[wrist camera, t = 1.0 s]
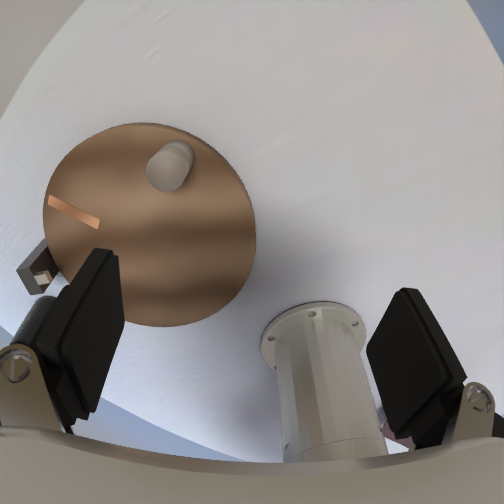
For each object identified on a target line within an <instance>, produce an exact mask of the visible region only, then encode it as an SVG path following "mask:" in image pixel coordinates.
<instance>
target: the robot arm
mask: <svg viewBox="0 0 504 504" xmlns="http://www.w3.org/2000/svg"><path fill="white" fill-rule="evenodd" d="M124 323H125V318H124V310H123V301H122V291H121V280H120V268H119V258H118V256H117V255H114V253H113V251H112V250H110V249H103V248H94V249H93V250H92V252H91V253H90V254H89V256H88V257H87V259H86V260H85V262H84V263H83V265H82V266H81V268H80V269H79V271H78V272H77V274H76V275H75V277H74V278H73V280H72V281H71V283H70V285H66V286H65V287H64V288H63V289H62V290H61V292H60V293H59V295H58V297H57V298H56V300H55V301H54V303H53V305H52V306H51V308H50V309H49V311H48V313H47V314H46V316H45V318H44V319H43V321H42V323H41V325H40V326H39V328H38V330H37V331H36V333H35V335H34V337H33V338H32V340H31V342H30V344H29V346H28V347H27V346H25V345H21V344H14V345H9V346H7V347H4V348H3V349H1V350H0V504H504V418H503V417H501V416H500V415H498V414H497V413H495V401H494V398H493V396H492V394H491V392H490V391H489V390H488V389H487V388H486V387H485V386H483V385H482V384H480V383H477V382H470V383H468V384H467V385H466V386H465V387H464V385H463V382H464V381H465V379H466V378H467V376H466V374H465V372H464V370H463V368H462V366H461V364H460V362H459V360H458V358H457V356H456V354H455V352H454V350H453V349H452V347H451V345H450V343H449V341H448V339H447V338H446V336H445V334H444V332H443V330H442V329H441V327H440V325H439V323H438V322H437V320H436V318H435V316H434V315H433V313H432V311H431V310H430V308H429V306H428V305H427V303H426V301H425V300H424V298H423V296H422V295H421V293H420V292H419V290H418V289H413V288H401V289H400V290H399V291H397V292H396V293H395V294H394V296H393V298H392V300H391V302H390V304H389V306H388V308H387V310H386V312H385V314H384V316H383V317H382V319H381V321H380V323H379V325H378V327H377V328H376V330H375V332H374V334H373V336H372V337H371V339H370V341H369V343H368V345H367V348H366V354H367V357H368V360H369V363H370V366H371V369H372V372H373V375H374V379H375V382H376V385H377V388H378V391H379V395H380V398H381V401H382V404H383V408H384V411H385V414H386V418H387V421H388V425H389V428H390V430H391V431H392V432H394V435H395V439H396V440H398V439H405V438H409V437H410V436H411V437H412V443H411V445H410V448H409V450H408V452H402V453H396V454H390V455H389V453H388V450H387V446H386V442H385V438H384V434H383V430H382V427H381V423H380V420H379V416H378V412H377V409H376V405H375V402H374V398H373V395H372V392H371V388H370V385H369V382H368V378H367V375H366V372H365V369H364V365H363V362H362V359H361V356H360V352H361V350H362V348H363V346H364V344H365V341H366V329H365V326H364V323H363V321H362V319H361V317H360V316H359V315H358V314H357V313H356V312H355V311H354V310H352V309H351V308H349V307H347V306H344V305H341V304H338V303H332V302H316V303H309V304H305V305H301V306H297V307H295V308H293V309H290V310H288V311H286V312H284V313H283V314H281V315H280V316H278V317H277V318H276V319H275V320H273V321H272V322H271V323H270V324H269V326H268V327H267V328H266V329H265V332H264V334H263V336H262V340H261V353H262V357H263V359H264V361H265V362H266V364H267V365H268V366H269V367H270V368H271V369H273V370H274V371H276V372H277V384H278V396H279V409H280V421H281V434H282V447H283V461H284V463H258V462H236V461H221V460H210V459H200V458H191V457H182V456H176V455H169V454H162V453H156V452H151V451H145V450H139V449H134V448H129V447H124V446H119V445H115V444H110V443H105V442H102V441H97V440H94V439H89V438H85V437H81V436H77V435H76V434H75V432H74V430H73V427H72V425H74V424H75V422H76V419H77V418H80V419H83V420H88V417H89V414H90V412H92V413H94V412H95V411H96V408H97V405H98V402H99V399H100V396H101V392H102V389H103V386H104V383H105V380H106V377H107V374H108V371H109V368H110V365H111V362H112V359H113V356H114V354H115V351H116V348H117V345H118V342H119V340H120V337H121V334H122V331H123V328H124Z"/></svg>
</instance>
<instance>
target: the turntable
mask: <svg viewBox="0 0 504 504" xmlns="http://www.w3.org/2000/svg"><path fill="white" fill-rule="evenodd" d="M43 226H44V232H45V237H46V241H47V244H48V247H49V250H50V253H51V255H52V257H53V259H54V261H55V263H56V265H57V267H58V268H59V270H60V272H61V273H62V275H63V276H64V277H65V279H66V280H67V281H68V282H69V284H70V283H71V281H72V280H73V278H74V277H75V275H76V274H77V272H78V271H79V269H80V268H81V266H82V265H83V263H84V262H85V260H86V259H87V257H88V256H89V254H90V253H91V252H92V250H93V249H94V248H103V249H110V250H112V251H113V253H114V255H117V256H118V258H119V268H120V280H121V291H122V301H123V310H124V318H125V321H127V322H131V323H135V324H139V325H145V326H152V327H173V326H181V325H187V324H190V323H194V322H197V321H200V320H202V319H205V318H207V317H209V316H211V315H213V314H214V313H216V312H218V311H219V310H221V309H222V308H223V307H225V306H226V305H227V304H228V303H229V302H230V301H231V300H232V299H233V298H234V297H235V296H236V295H237V294H238V292H239V291H240V290H241V288H242V287H243V285H244V284H245V282H246V280H247V278H248V276H249V274H250V271H251V268H252V265H253V261H254V255H255V244H256V233H255V221H254V213H253V209H252V205H251V201H250V198H249V196H248V193H247V191H246V189H245V186H244V184H243V183H242V181H241V179H240V178H239V176H238V175H237V173H236V171H235V170H234V169H233V168H232V166H231V165H230V164H229V163H228V162H227V160H226V159H225V158H224V157H223V156H222V155H220V154H219V153H218V152H217V151H216V150H215V149H214V148H213V147H211V146H210V145H208V144H207V143H205V142H204V141H203V140H201V139H199V138H198V137H196V136H194V135H192V134H190V133H188V132H186V131H183V130H180V129H177V128H174V127H171V126H167V125H161V124H156V123H131V124H123V125H119V126H116V127H112V128H109V129H107V130H104V131H102V132H100V133H98V134H96V135H94V136H92V137H90V138H88V139H86V140H85V141H83V142H82V143H80V144H79V145H77V146H76V147H75V148H74V149H72V150H71V151H70V152H69V153H68V154H67V155H66V156H65V157H64V159H63V160H62V161H61V162H60V164H59V165H58V166H57V168H56V170H55V171H54V173H53V175H52V177H51V179H50V182H49V184H48V187H47V190H46V194H45V198H44V206H43Z"/></svg>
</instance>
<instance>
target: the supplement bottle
mask: <svg viewBox="0 0 504 504" xmlns="http://www.w3.org/2000/svg"><path fill="white" fill-rule="evenodd" d="M55 300H56V298H54V297H49V296H46V297H41V298H39V299H38V300H37V301H36V302H35V303H34V305H33V306H32V308H31V309H30V311H29V312H28V314H27V316H26V317H25V319H24V321H23V322H22V324H21V326H20V327H19V329H18V331H17V332H16V334H15V336H14V337H13V339H12V341H11V343H10V345H14V344H21V345H25V346H27V347H28V346H29V344H30V342H31V340H32V338H33V337H34V335H35V333H36V331H37V330H38V328H39V326H40V325H41V323H42V321H43V319H44V318H45V316H46V314H47V313H48V311H49V309H50V308H51V306H52V305H53V303H54V301H55Z"/></svg>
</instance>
